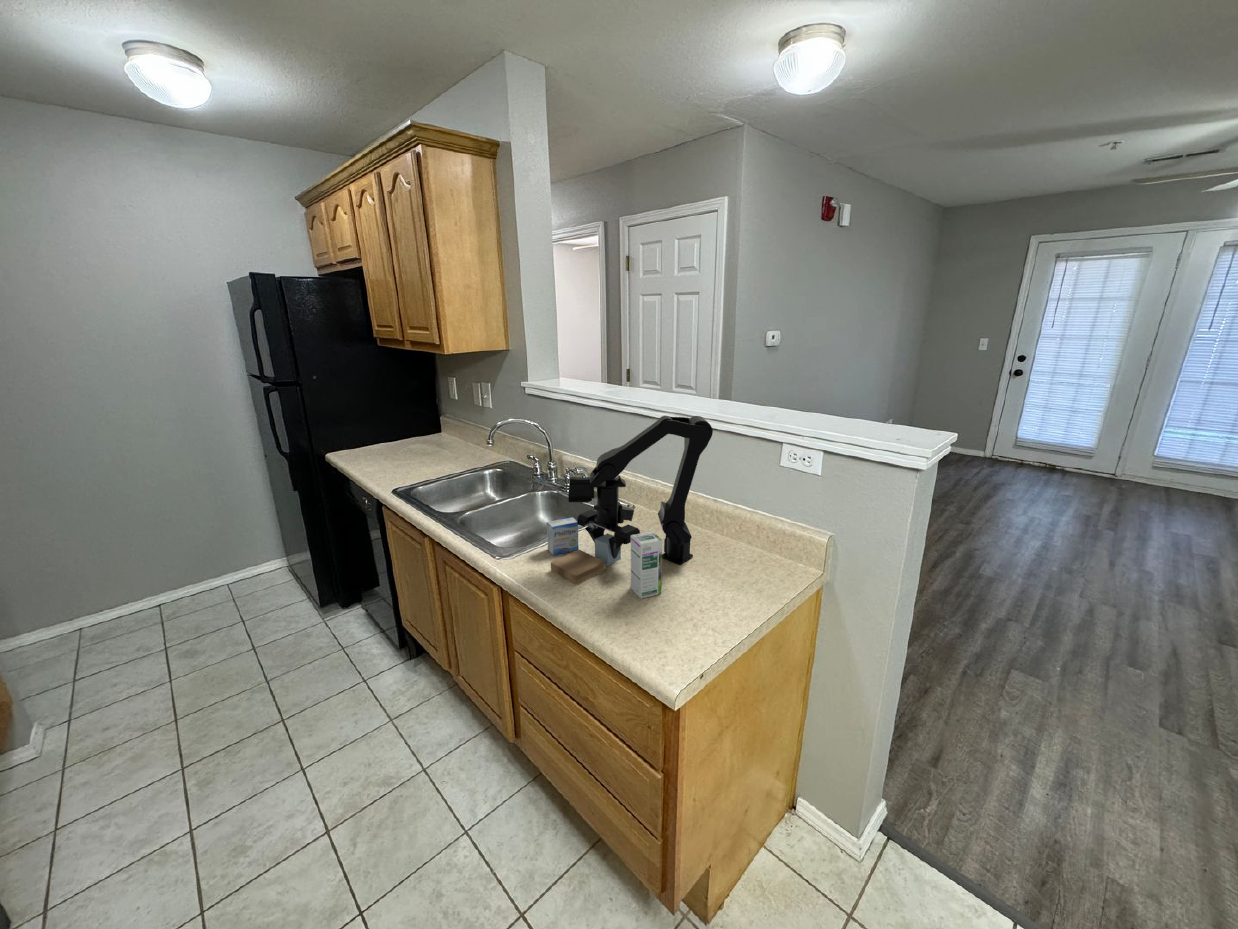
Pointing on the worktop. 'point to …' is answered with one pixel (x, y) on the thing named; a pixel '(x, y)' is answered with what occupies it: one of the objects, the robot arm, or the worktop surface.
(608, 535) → the slate block
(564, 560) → the walnut block
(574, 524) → the medicine box
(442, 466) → the worktop surface
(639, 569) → the syrup box
